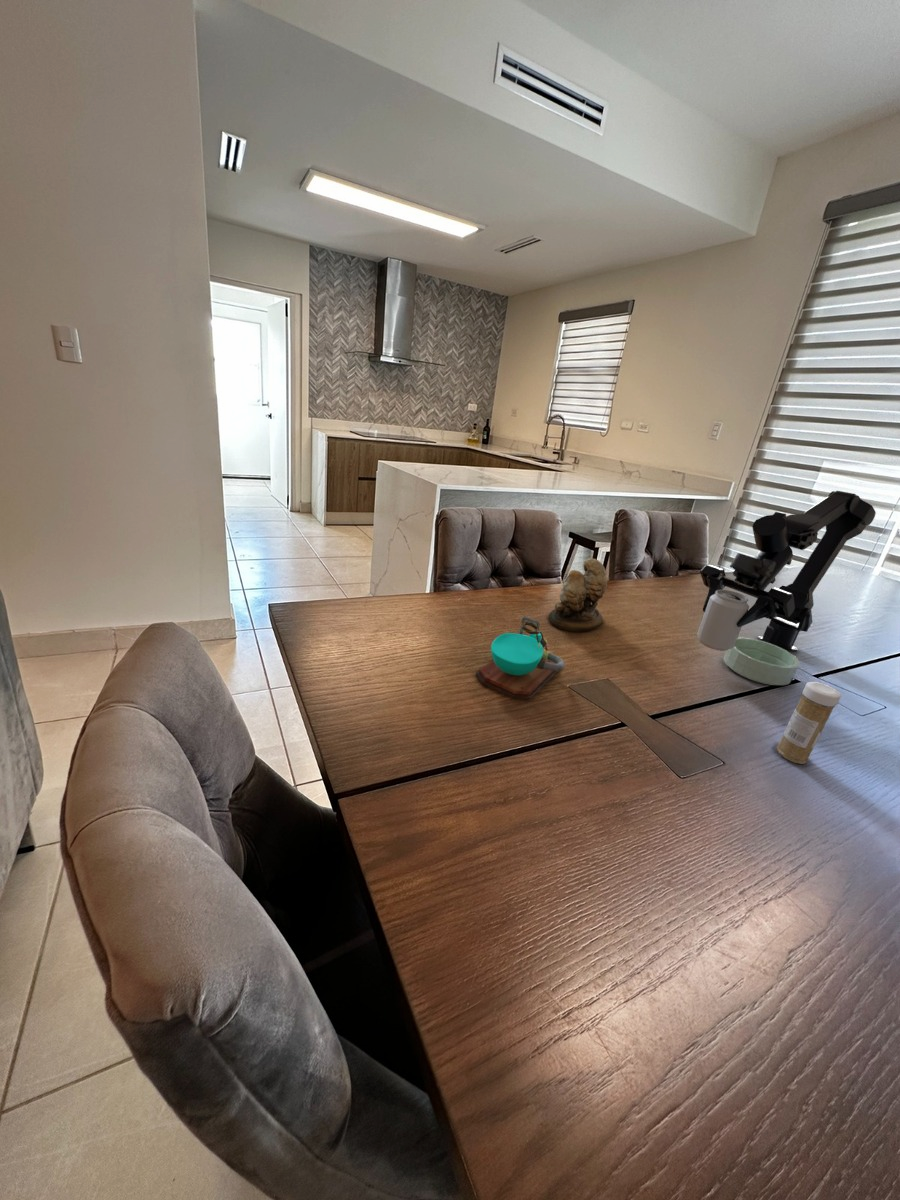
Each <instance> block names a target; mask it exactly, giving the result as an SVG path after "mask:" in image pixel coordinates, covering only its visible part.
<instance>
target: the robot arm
mask: <svg viewBox="0 0 900 1200" xmlns="http://www.w3.org/2000/svg"><path fill="white" fill-rule="evenodd" d="M876 513H877V512H876V510H875V508H874V506H873V505H872V504H871V503H868V502H867V501H865V500H863V499H862V498H861V497H860V496H859V495H857V494H856V493H852V492H848V491H842V490H833V491H832V490H831V492H829V494H828V496H826V498H824V499H823V500H821V501H820V502H818V503H816V504H815V505H813V506H812V507H810V508H809V509H807V510H806V511H804V512H802V513H796V514H795V513H794V514H790V515H787V513H786V512H785V513H783V512H780V511H774V513H773V514H769V515H768V514H767V515H763V516H761V517H759V518H757V519H756V520H755V521H754V522H753V523H752V534H753V538H754V542H755V543H754V544H755V547H756V549H757V550H759V551H758V552H757V553H756V554H755V556H754V557H753V556H750V555H746V554H743V553H740V552H737V553H736V555H735V557H734V558H733V560H732V562H731V563H730V565H729V567H730V569H731V568H732V569H733V570H734V571H732V576H733V577H735V578H734V579H733V578H730V577H728V576H727V575H726V572H725V569H723V568H721V567H718V566H715V565H712V564H706V565H704V566H703V567H702V568H701V569H700V571H699V573H700V576H701V579H702V580H701V581H702V583H703V585H704V586H705V587H706V588H708V592H707V596H706V598H705V601H704V604H703V608H702V612H703V613H705V610H706V607H707V604H708V602H709V599H710V596H712V595H714V594H716V593H715V591H717V590H724V588H725V587H726V588H729V589H731V590H733V591H734V590H735V591H737V592H740V593H743V594H745V595H748V596H750V597H753V598H756V600H755V602H754V604H753V605H752V606H751V607H749V609H748V611H747V612H746V613H745V614H744V616H743V617H742V618H741V619H740V620H739V622H738V623H737V627H741V626H742V627H743V626H746V625H749V624H750V623H753V622H755V621H758V620H762V619H764V618H765V619H769V620H770V621H769V623H768V625H766V628H765V631H764V633H763V635H761V636H759V635H758V637H757V640H761V641H764V642H768V643H770V644H773V645H776V646H778V647H780V648H782V649H784V650H786V651H789V652H790V651H791V652H797V651H798V648H797V647H795V646H794V644H795V643H796V640H797V638H798V635H799V634H800V632H805V633H807V632H808V631H809V629H810V628H811V625H812V624H813V613H812V609H813V607H814V594H813V593H814V591H815V590H816V589H817V587H818V585H819V584H820V583H821V581H822V579H823V578H824V576H825V575H826V573H827V572H828V570H829V569H830V568H831V566H832V564H833V563H834V561H835V560H836V558H837V557H838V555H839V553H840V552H841V551H842V549H843V547H844V546H845V545H846V543H847V542H848V541H849V540H852V539H853V538H855V537H858V536H859V535H862V534H863V532H864V530H865V529H866V528H867V526H870V525H871V524H872V523H873V521H874V519H875V517H876ZM823 528H825V532H824V534H823V535H822V537H821V538H820V539H819V541H818V535H819V533H818V532H819V531H820V530H822V529H823ZM816 541H818V542H817V544H816V546H815V548H814V549H813V551H812V552H811V554H810V555H809V556H808V558H807V560H806V561H805V563H804V564H803V566H802V567H801V569H800V571H799V572H798V574H797V575H796V576H795V578H794V580H793V581H792V582H791V583H789V584H788V585H781V586H779V587H775V586H774V587H771V588H769V591H767V590H766V588H767V587H768V586H769V585H770V584H774V583H775V582H776V577H777V575H778V574H779V573H780V572H781V571H782V570H783V569H784V568H785V566H786V565H787V566H790V565H791V564H792V560H793V559H792V558H793V557H794V553H793V549H797V550H800V551H804V550H806V549H808V548H809V547H811V546H813V544H814V543H815V542H816ZM742 627H741V628H742Z"/></svg>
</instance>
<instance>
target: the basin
mask: <svg viewBox="0 0 900 1200" xmlns="http://www.w3.org/2000/svg"><path fill="white" fill-rule="evenodd" d="M722 660H723V662H724V664H725V665H726V666H727V667H728V668H730V669H731V670H732V671H733V672H735V673H736V674H738V675H739V676H741V677H744V678H746V679H748V680H750V681H753V682H756V683H760V684H764V685H769V686H786V685H790V684H791V682H792V681H793V680H794V678H795V675H796V673H797V671H798V669H799V666H800V665H801V664H800V660H799V658H798V657H796V656H795V655H794V654H792V653H791V652H790V651H789V650H784V649H782V648H780V647H778V646H776V645H773V644H770V643H768V642H764V641H761V640H760V639H758V638H751V637H745V636H744V637H743V636H741V637H740V636H738V638H737V640H736V643H735V645H734V647H733V648H731V649H728V650H726V651H724V655H723V659H722Z"/></svg>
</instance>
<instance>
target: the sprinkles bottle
mask: <svg viewBox="0 0 900 1200" xmlns="http://www.w3.org/2000/svg"><path fill="white" fill-rule="evenodd" d="M840 699H841V693H840V692H839V691H838V690H837V689H835V688H834V687H832V686H830V685H827V684H825V683H822V682H818V681H808V682H806V683H805V686H804V688H803V690H802V693H801V697H800V699H799V701H798V703H797V705H796V707H795V709H794V711H793V713H792V715H791V717H790V719H789V721H788V723H787V725H786V727H785V728H784V732H783V735H782V737H781V739H780V741H779V743H778V744H777V746H776V752H777V753H778V754H779V756H781V757H782V758H784V759H786V760H788V761H790V762H791V763H794V764H799V765H804V764H806V763H808V762H809V757H810V756H811V753H812V752H813V749H814V748H815V747H816V745H817V743H818V741H819V739H820V737H821V735H822V732H823V730H824V728H825V725H826V724H827V722H828V720H829V719H830V716H831V714H832V712H833V709H834V708H835V707H836V706H837V705H838V704H839V701H840Z"/></svg>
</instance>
